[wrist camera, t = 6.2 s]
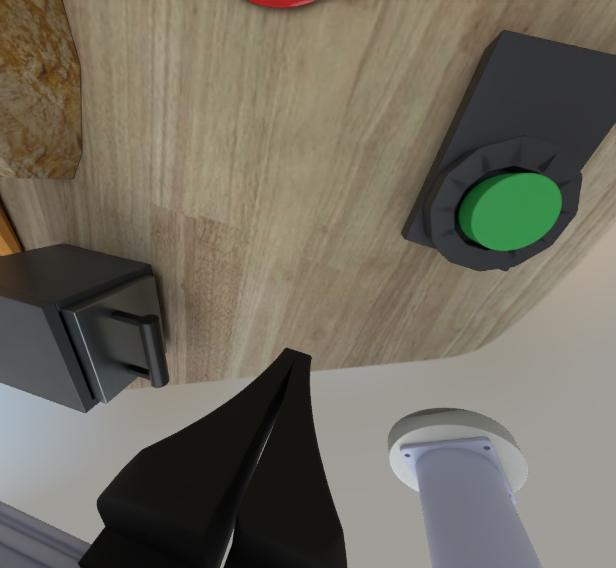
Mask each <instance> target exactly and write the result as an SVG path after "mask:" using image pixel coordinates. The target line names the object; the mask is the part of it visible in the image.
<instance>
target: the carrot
mask: <svg viewBox="0 0 616 568" xmlns="http://www.w3.org/2000/svg"><path fill="white" fill-rule="evenodd" d="M19 252H23V251H22V248H21V246H20V243H19V241H18V239H17V237H16V235H15V233H14V231H13V229H12V227H11V225H10V223H9V221H8V219H7V217H6V215H5V213H4V211H3V208H2V206H1V204H0V253H1V254H2V255H3V256H4V255H9V254H14V253H19Z"/></svg>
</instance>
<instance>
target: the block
mask: <svg viewBox="0 0 616 568" xmlns="http://www.w3.org/2000/svg"><path fill="white" fill-rule="evenodd" d="M615 123H616V55H612V54H608V53H603V52H599V51H595V50H590V49H586V48H581V47H577V46H573V45H568V44H564V43H559V42H555V41H551V40H546V39H542V38H537V37H533V36H528V35H524V34H520V33H515V32H511V31H506V30H503V31H502V32H501V33H500V34H499V35H498V36H497V37H496V38H495V39H494V40H493V41H492V43H491V44H490V45H489V46H488V47H487V48H486V49H485V51H484V54H483V56H482V58H481V60H480V62H479V65H478V67H477V69H476V71H475V73H474V75H473V78H472V80H471V82H470V84H469V86H468V89H467V91H466V93H465V95H464V97H463V100H462V102H461V104H460V106H459V108H458V110H457V113H456V115H455V117H454V119H453V121H452V124H451V126H450V128H449V130H448V132H447V135H446V137H445V139H444V141H443V143H442V145H441V148H440V150H439V152H438V154H437V156H436V159H435V161H434V163H433V165H432V167H431V169H430V172H429V174H428V176H427V178H426V180H425V183H424V185H423V187H422V189H421V191H420V194H419V196H418V198H417V200H416V202H415V204H414V207H413V209H412V211H411V213H410V215H409V218H408V220H407V222H406V224H405V226H404V228H403V231H402V233H401V234H402V236H403V237H404V239H406V240H409V241H412V242H415V243H418V244H421V245H425V246H428V247H431V248H434V249H437V250H438V251H439V252H440V253H441V254H442V255H443V256H444V257H445V258H446V259H447V260H448V261H450V262H452V263H455V264H458V265H461V266H464V267H467V268H470V269H473V270H476V271H486V270H493V269H500V270H503V271H508V270H509V268H510V267H515V266H516V265H519V264H520V263H522V262H524V261H526V260H527V259H529V258H531V257H533V256H534V255H536V254H538V253H540V252H542V251H543V250H545V249H547V248H549V247H550V246H551V245H553V243H554V242H555V241H556V240H557V238H558V237H559V236H560V234H561V233H562V232H563V231H564V229H565V228H566V227H567V226H568V224H569V223H570V222H571V220H572V219H573V218H574V217H575V215H576V213H577V210H578V203H579V196H580V190H581V183H582V174H581V172H580V171H581V169H582V168H583V167H584V165H585V164H586V162H587V161H588V160H589V158H590V157H591V156H592V154H593V153H594V152H595V150H596V149H597V147H598V146H599V145H600V143H601V142H602V141H603V139H604V138H605V136H606V135H607V134H608V132H609V131H610V130H611V128H612V127H613V125H614V124H615ZM515 173H536V174H541V175H543V176H546V177H548V178H549V179H551V180H552V181H553V182H554V183H555V184H556V185H557V187H558V188H559V190H560V193H561V198H562V206H561V211H560V214H559V216H558V218H557V220H556V222H555V223H554V225H553V226H552V227H551V229H550V230H549V231H548V232H547V233H546V234H545V235H544V236H542V237H541V238H540V239H538V240H537V241H535V242H534V243H532V244H530V245H527V246H525V247H522V248H519V249H515V250H509V251H499V250H493V249H490V248H487V247H485V246H483V245H481V244H480V243H478V242H476V241H474V240H472V239H471V238H469V237H468V236H466V235H465V233H464V232H463V231H462V229H461V227H460V224H459V210H460V207H461V204H462V202H463V200H464V198H465V197H466V195H467V194H468V193H469V192H470V191H471V190H472V189H473V188H474V187H475V186H476V185H477V184H479V183H480V182H482V181H484V180H486V179H488V178H490V177H493V176H496V175H501V174H515Z"/></svg>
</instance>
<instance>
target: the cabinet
mask: <svg viewBox="0 0 616 568" xmlns="http://www.w3.org/2000/svg"><path fill="white" fill-rule="evenodd" d="M142 274H147V275H151V276H152V273H151V267H150V265H149V264H145V263H140V262H136V261H132V260H128V259H124V258H120V257H115V256H111V255H107V254H103V253H99V252H95V251H91V250H86V249H82V248H78V247H74V246H70V245H66V244H58V245H54V246H48V247H43V248H38V249H33V250H28V251H24V252H19V253H14V254H9V255H4V256H0V383H3V384H6V385H9V386H11V387H14V388H17V389H20V390H23V391H26V392H28V393H31V394H34V395H36V396H39V397H42V398H45V399H47V400H50V401H53V402H56V403H59V404H61V405H64V406H67V407H69V408H72V409H75V410H78V411H80V412H83V413H87V412H88V411H89V410H90V409H92V408H93V407H94V406H95V405H97V404H98V403H99V402H100V401H97V400H95V397H94V395H93V392H92V390H91V387H90V384H88V385H87V384H86V381H85V379H84V376H83V374H82V371H81V369H80V366H79V364H78V361H77V359H76V356H75V353H74V351H73V348H72V346H71V343H70V341H69V338H68V336H67V333H66V330H65V328H64V325H63V323H62V320H61V318H60V315H59V313H58V311H61V308H64V307H66V306H68V305H71V304H73V303H75V302H78V301H80V300H83V299H85V298H87V297H90V296H92V295H95V294H97V293H99V292H102V291H104V290H106V289H109V288H111V287H114V286H116V285H118V284H121V283H123V282H125V281H128V280H130V279H133V278H135V277H137V276H140V275H142Z"/></svg>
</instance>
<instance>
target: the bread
mask: <svg viewBox="0 0 616 568" xmlns="http://www.w3.org/2000/svg"><path fill="white" fill-rule="evenodd" d="M81 154H82V135H81V95H80V64H79V61H78V57H77V53H76V50H75V46H74V43H73V39H72V35H71V32H70V28H69V25H68V21H67V18H66V14H65V10H64V7H63V3H62V0H0V177H8V178H51V179H73V177H74V174H75V171H76V168H77V166H78V163H79V160H80V157H81Z"/></svg>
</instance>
